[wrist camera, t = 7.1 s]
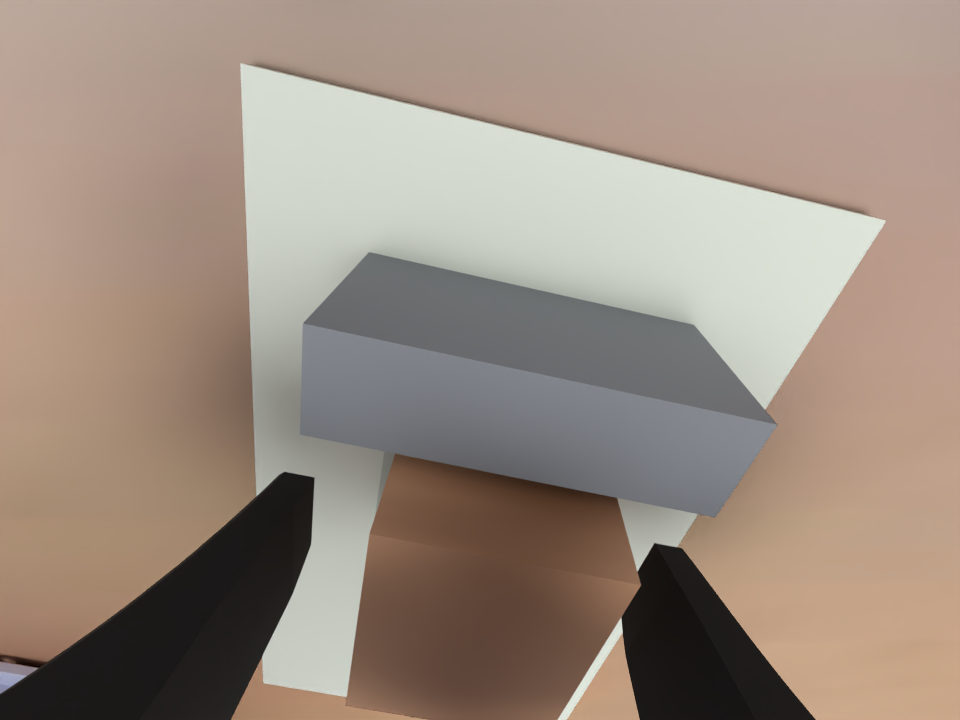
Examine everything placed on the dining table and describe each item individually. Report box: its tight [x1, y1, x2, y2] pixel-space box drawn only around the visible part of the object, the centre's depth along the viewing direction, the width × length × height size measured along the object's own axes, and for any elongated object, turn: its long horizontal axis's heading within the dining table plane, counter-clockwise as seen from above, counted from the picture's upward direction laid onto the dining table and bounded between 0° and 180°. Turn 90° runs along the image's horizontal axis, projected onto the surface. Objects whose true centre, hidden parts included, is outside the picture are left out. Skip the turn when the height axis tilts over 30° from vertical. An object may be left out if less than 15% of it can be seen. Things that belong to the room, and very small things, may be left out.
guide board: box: [240, 63, 886, 720], centre depth 12 cm, size 12×21×4 cm, turn 168°
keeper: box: [345, 454, 641, 720], centre depth 10 cm, size 4×5×4 cm
